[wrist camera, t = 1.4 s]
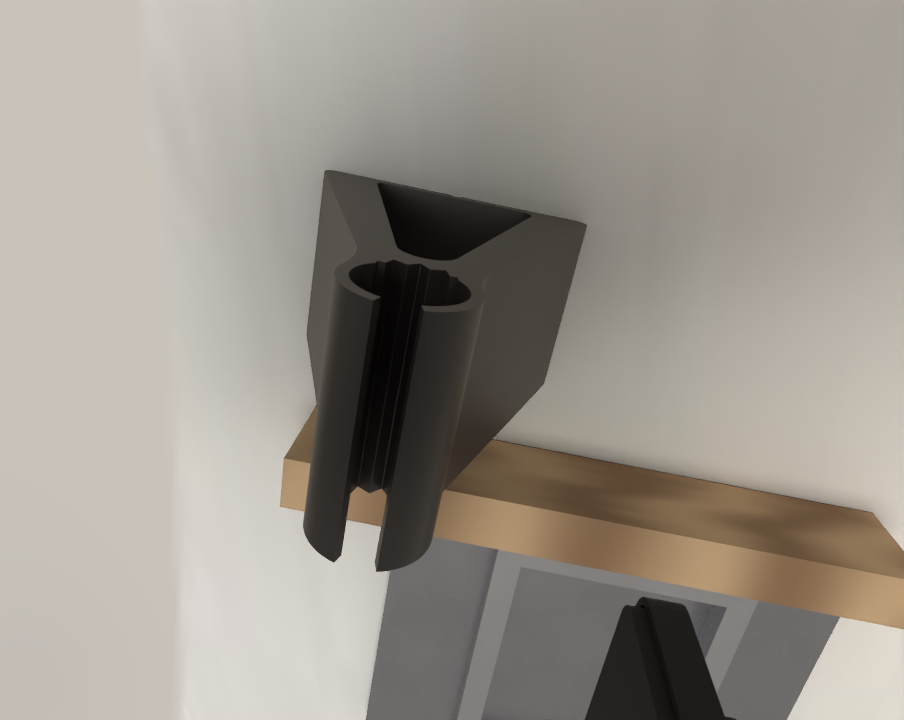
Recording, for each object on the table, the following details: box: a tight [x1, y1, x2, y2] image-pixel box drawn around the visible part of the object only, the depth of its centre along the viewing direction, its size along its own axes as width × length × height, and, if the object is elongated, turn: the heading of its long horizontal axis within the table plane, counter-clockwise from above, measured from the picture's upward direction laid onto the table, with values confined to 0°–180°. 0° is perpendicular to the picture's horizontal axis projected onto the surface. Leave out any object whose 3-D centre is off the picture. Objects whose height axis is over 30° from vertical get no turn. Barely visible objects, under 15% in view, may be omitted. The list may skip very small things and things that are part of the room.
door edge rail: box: [280, 406, 904, 629], centre depth 25 cm, size 22×2×4 cm, turn 80°
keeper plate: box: [366, 537, 840, 720], centre depth 29 cm, size 18×13×2 cm
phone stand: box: [303, 170, 587, 572], centre depth 19 cm, size 9×6×12 cm, turn 79°
